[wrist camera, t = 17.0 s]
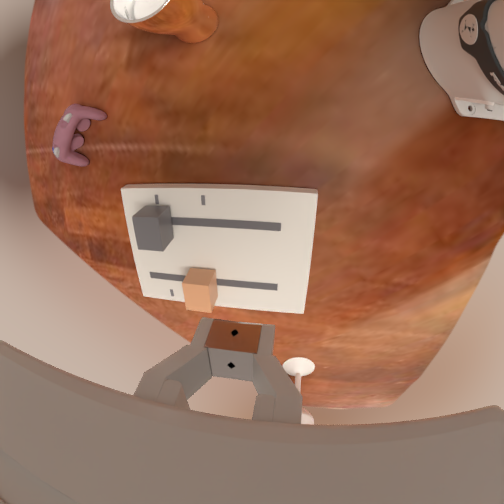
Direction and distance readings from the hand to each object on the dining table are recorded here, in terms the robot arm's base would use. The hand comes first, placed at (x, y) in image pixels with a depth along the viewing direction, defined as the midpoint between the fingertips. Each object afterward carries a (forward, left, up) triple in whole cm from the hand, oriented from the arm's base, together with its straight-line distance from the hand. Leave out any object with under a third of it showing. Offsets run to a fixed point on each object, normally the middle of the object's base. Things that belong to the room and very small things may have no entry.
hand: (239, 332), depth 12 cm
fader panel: (+9, +13, -29) cm, 33 cm away
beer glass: (+11, -20, -29) cm, 37 cm away
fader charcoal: (+17, +8, -27) cm, 33 cm away
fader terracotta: (+11, +18, -27) cm, 34 cm away
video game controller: (+30, -6, -29) cm, 42 cm away
